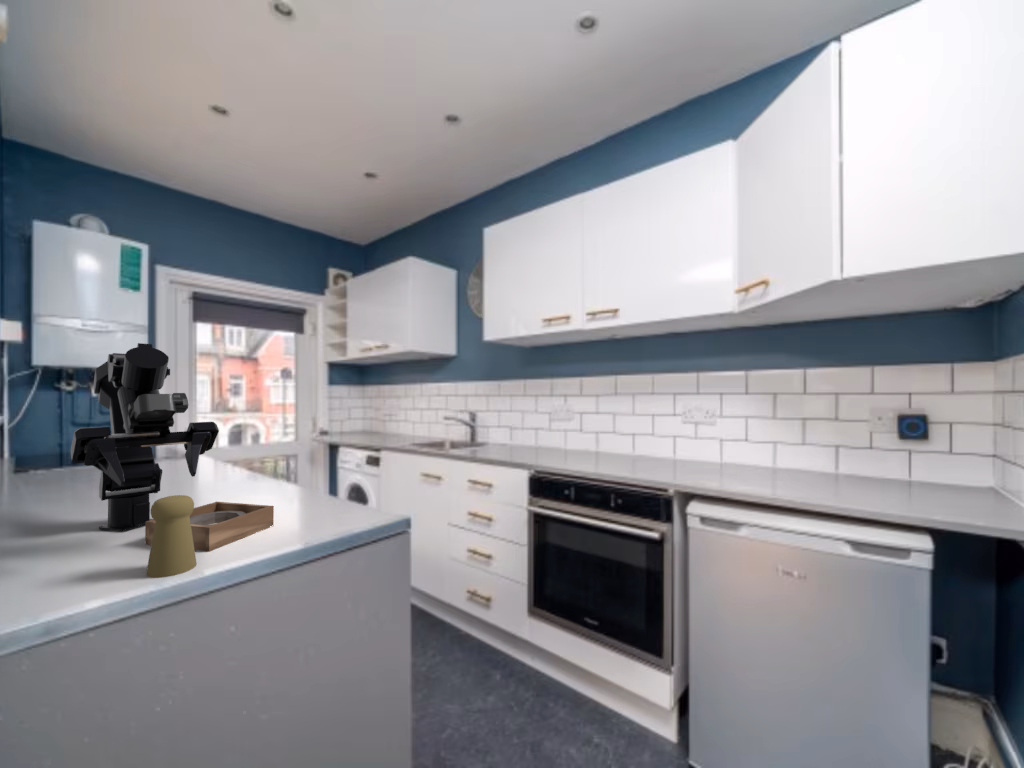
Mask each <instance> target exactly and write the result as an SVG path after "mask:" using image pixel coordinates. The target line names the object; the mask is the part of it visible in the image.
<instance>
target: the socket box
mask: <svg viewBox="0 0 1024 768" xmlns="http://www.w3.org/2000/svg"><path fill="white" fill-rule="evenodd" d="M274 507H275V506H274V505H267V504H266V505H265V504H264V505H263V504H253V503H243V502H242V503H241V502H225V501H214V502H210V503H207V504H203V505H200V506H197V507H196V506H195V507H194V509H193V512H192V514H191V515H190V516H189V517H190V523H191V530H192V536H193V543H194V550H195V551H201V552H203V551H204V552H212V551H214V550H216V549H219V548H222V547H224V546H226V545H230V544H232V543H233V542H236V541H239V540H242V539H245V538H247V537H249V536H252V535H254V534H257V533H259V532H261V530H262V531H264V530H267V529H269V528H271V527H270V526H272V525H273V526H274V515H275V514H274V509H275V508H274ZM152 519H153V518H152ZM144 526H145V531H144V533H145V537H144V541H145V542H144V544H145V545H148V546H149V545H150V546H151V544H152V538H153V533H154V527H155V520H154V519H153V520H150V521H146V525H144ZM273 526H272V527H273ZM268 527H269V528H268ZM266 528H267V529H266ZM263 529H264V530H263ZM256 532H257V533H256Z"/></svg>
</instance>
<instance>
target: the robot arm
mask: <svg viewBox="0 0 1024 768" xmlns="http://www.w3.org/2000/svg"><path fill="white" fill-rule="evenodd" d="M168 364H169V356H168V355H167V353H165V352H164V351H162V350H160V349H157V348H154V347H153V343H141V342H140V343H139V342H138V343H137V346H136V347H133V348H130V349H128V350H127V351H126V352H125V353H117V352H113V353H111V354H110V353H109V354H108V355H107V361H105V362H104V363H102V364H101V365H99V366H98V367H97V368H95V371H94V379H93V394H94V395H96V394H97V397H98V398H97V399H98V404H100V405H101V406H102V407H104V408H106V409H108V411H109V418H110V419H109V420H110V426H93V427H78V428H77V429H75V431H74V432H73V436H72V441H71V446H70V457H71V462H72V463H74V464H84V466H87V467H88V466H93V467H95V468H96V469H97V470H99V471H100V477H99V485H98V487H99V488H98V491H99V493H98V496H99V499H100V500H101V501H102V502H103V501H106V500H107V501H108V502H107V523H106V524H103V525H100V526H98V529H99V530H102V531H103V530H104V531H105V530H106V531H113V532H126V531H129V530H133V529H137V528H140V527H143V526H145V525H146V521H150V520H153V518H151V502H150V495H151V494H158V492H160V491H161V481H162V477H163V469H162V468H160V465H159V463H158V462H156V461H155V458H154V454H153V448H152V447H158V446H171V445H183V447H184V450H185V453H184V457H185V460H186V465H187V467H188V472H189V474H190V476H191V477H195V476H196V474H197V470H198V469H197V468H198V464H199V458H200V455H204V454H205V453H206V452H208V451H210V450H212V449H213V446H214V445H215V443H216V442H215V441H216V439H217V436H218V434H219V431H220V430H219V427H218V424H217V423H216V422H214V421H196V422H195V421H194V422H189V425H188V427H187V429H186V430H185V431H172V432H171V429H170V427H171V428H172V427H174V424H175V421H174V415H176V414H184V413H185V412H186V411H187V410H188V409H189V400H188V396H187V394H186V392H172V393H160V390H161V389H162V388H163V387H164V384H165V381H166V380H165V379H167V377H168V376H171V369H170V368H169V367H168Z"/></svg>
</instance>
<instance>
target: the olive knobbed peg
mask: <svg viewBox="0 0 1024 768" xmlns="http://www.w3.org/2000/svg"><path fill="white" fill-rule="evenodd" d="M194 508H195V502H194V499H193V498H192V497H191V496H189V495H184V494H183V495H182V494H181V495H180V494H179V495H168V496H164V497H161V498H158V499H156V500H155V501H154V502H153V503H152V505H151V506H150V517H151V519H154V520H155V527H154V533H153V538H152V544H151V545H150V550H149V556H148V562H147V567H146V572H145V573H146V576H147V577H148V578H151V579H152V578H157V579H159V578H167V577H168V578H169V577H173V576H176V575H180V574H183V573H186V572H189V571H190V570H193V569H194V568H195V567H197V558H196V552H195V551H196V550H194V543H193V536H192V530H191V523H190V517H189V516H190V515H191V514H192V512H193V509H194Z"/></svg>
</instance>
